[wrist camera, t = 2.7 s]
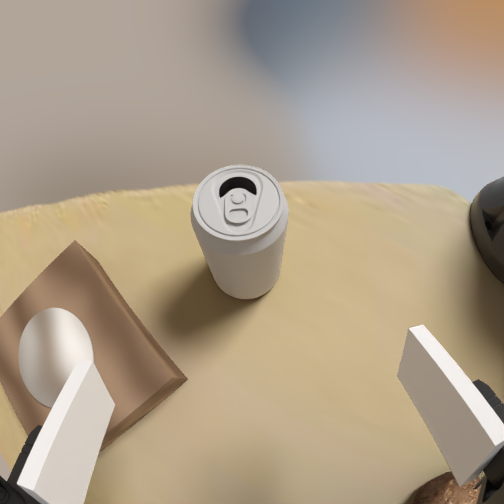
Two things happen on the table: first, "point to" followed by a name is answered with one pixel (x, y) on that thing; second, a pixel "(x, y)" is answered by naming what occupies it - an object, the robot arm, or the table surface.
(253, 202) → the beverage can
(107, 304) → the pedestal
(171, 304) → the table surface
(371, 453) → the table surface
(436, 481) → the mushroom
